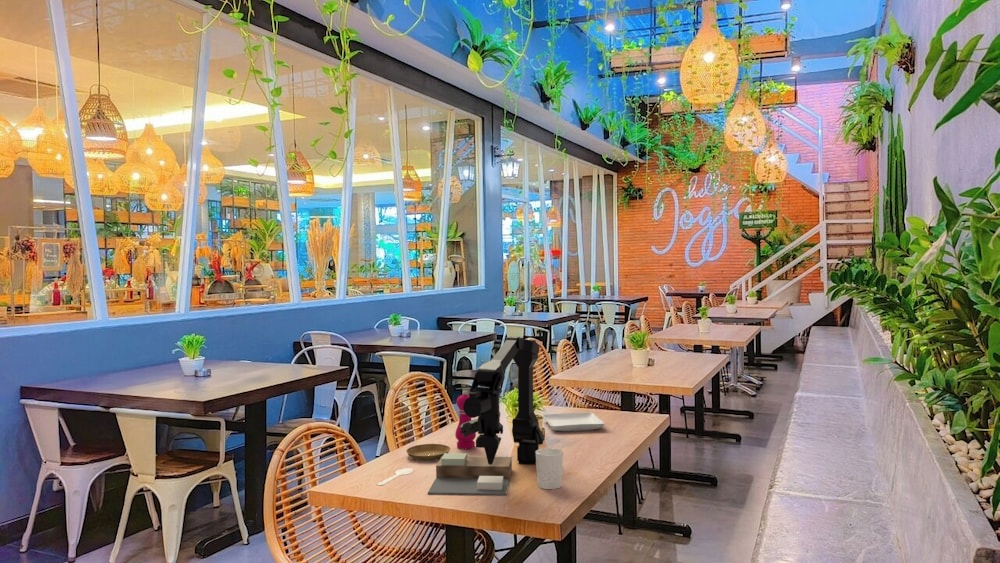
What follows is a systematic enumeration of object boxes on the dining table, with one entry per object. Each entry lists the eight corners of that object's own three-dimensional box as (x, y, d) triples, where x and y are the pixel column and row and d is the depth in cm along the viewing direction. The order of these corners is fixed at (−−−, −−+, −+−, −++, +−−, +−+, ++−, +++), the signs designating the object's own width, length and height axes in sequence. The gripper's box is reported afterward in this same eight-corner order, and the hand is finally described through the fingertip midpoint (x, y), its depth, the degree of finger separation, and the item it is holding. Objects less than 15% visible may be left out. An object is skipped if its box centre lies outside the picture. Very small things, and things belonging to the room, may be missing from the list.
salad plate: (541, 421, 279) (541, 413, 279) (592, 419, 281) (592, 411, 281) (550, 434, 258) (550, 425, 258) (605, 432, 260) (605, 423, 260)
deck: (511, 469, 213) (511, 457, 213) (509, 479, 203) (509, 466, 203) (442, 469, 215) (441, 456, 215) (436, 479, 205) (436, 465, 205)
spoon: (370, 485, 201) (370, 483, 201) (403, 468, 218) (403, 466, 218) (386, 487, 199) (386, 485, 199) (418, 470, 215) (418, 468, 215)
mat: (509, 480, 203) (509, 478, 203) (505, 495, 190) (505, 493, 190) (436, 479, 205) (436, 477, 205) (427, 494, 192) (427, 492, 192)
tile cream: (501, 482, 193) (501, 489, 193) (503, 476, 199) (503, 482, 199) (477, 482, 194) (477, 489, 194) (479, 475, 200) (479, 482, 200)
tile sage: (467, 459, 211) (467, 453, 211) (464, 465, 205) (464, 458, 205) (444, 459, 211) (444, 453, 211) (441, 465, 205) (441, 458, 205)
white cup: (555, 492, 192) (555, 456, 192) (531, 487, 196) (530, 453, 196) (568, 484, 199) (567, 450, 198) (544, 480, 203) (543, 446, 202)
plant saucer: (434, 465, 220) (434, 457, 220) (397, 460, 227) (397, 452, 227) (458, 454, 233) (458, 446, 233) (423, 449, 240) (423, 441, 240)
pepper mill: (452, 448, 239) (451, 391, 238) (460, 443, 245) (460, 388, 245) (470, 450, 236) (469, 392, 236) (479, 445, 243) (478, 389, 242)
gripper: (466, 404, 208) (467, 454, 209) (457, 417, 190) (458, 473, 190) (502, 404, 207) (503, 455, 208) (497, 418, 189) (498, 474, 189)
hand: (490, 464), depth 199 cm, fingers closed
